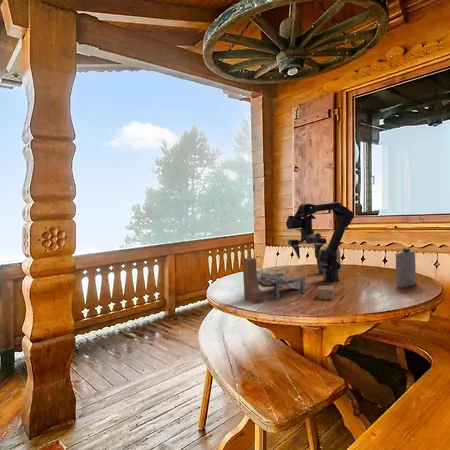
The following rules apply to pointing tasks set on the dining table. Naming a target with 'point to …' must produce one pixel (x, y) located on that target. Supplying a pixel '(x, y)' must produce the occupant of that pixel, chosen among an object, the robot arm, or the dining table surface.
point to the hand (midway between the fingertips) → (307, 258)
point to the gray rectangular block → (295, 284)
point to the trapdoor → (276, 279)
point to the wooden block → (251, 281)
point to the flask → (405, 268)
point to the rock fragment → (260, 275)
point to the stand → (325, 292)
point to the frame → (282, 283)
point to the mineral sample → (319, 266)
